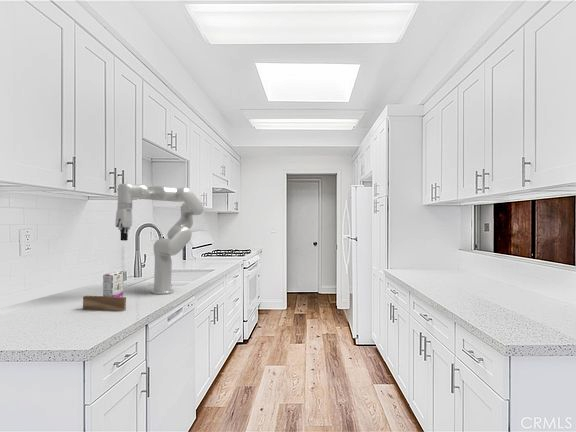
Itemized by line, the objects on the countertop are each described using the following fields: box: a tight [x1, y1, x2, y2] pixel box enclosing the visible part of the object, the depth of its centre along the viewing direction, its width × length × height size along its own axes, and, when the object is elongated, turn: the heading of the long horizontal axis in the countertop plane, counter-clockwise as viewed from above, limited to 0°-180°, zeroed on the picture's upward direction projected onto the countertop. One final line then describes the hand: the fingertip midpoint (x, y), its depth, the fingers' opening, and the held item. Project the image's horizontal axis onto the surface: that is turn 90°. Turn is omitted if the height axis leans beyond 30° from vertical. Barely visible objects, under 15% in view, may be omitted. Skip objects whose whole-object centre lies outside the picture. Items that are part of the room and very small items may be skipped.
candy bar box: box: [102, 271, 124, 297], centre depth 197 cm, size 11×5×16 cm, turn 176°
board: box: [82, 295, 127, 312], centre depth 191 cm, size 2×20×6 cm, turn 84°
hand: (124, 240), depth 220 cm, fingers closed
